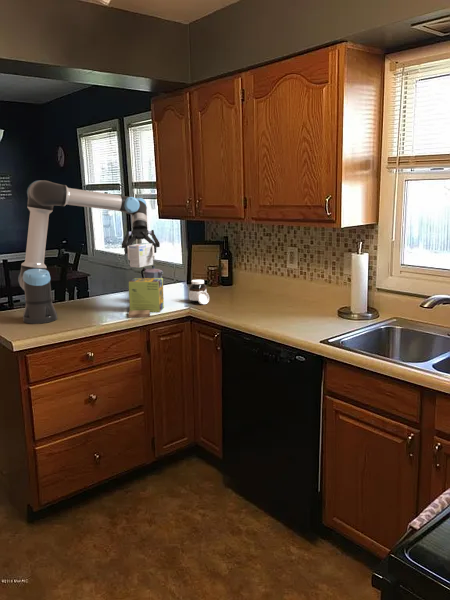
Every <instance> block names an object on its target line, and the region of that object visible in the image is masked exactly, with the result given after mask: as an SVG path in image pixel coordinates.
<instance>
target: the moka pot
mask: <svg viewBox="0 0 450 600" xmlns="http://www.w3.org/2000/svg"><path fill="white" fill-rule="evenodd" d="M155 267H156V266H155V265H151V268H145V267H142V269H141V270H140V275H141V278H163V274H164V272H163V270H161V269H159V268H155Z"/></svg>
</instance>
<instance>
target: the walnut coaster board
mask: <svg viewBox="0 0 450 600" xmlns="http://www.w3.org/2000/svg"><path fill="white" fill-rule="evenodd" d="M150 317H151V312H150V310H136V311H130V310H128V318H130V319H133V318H134V319H135V318H150Z"/></svg>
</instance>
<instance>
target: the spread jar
mask: <svg viewBox="0 0 450 600" xmlns="http://www.w3.org/2000/svg"><path fill="white" fill-rule="evenodd" d="M190 282H191V284H190V286H189V289H188V294H189V295H188V298H189V301H190V303H192V304H200V305H207V304H208V303H209V302H210V295H209V293H208V292H207V286H206V284H205V280H204V279H192V280H191V281H190Z"/></svg>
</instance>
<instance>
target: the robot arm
mask: <svg viewBox="0 0 450 600" xmlns="http://www.w3.org/2000/svg"><path fill="white" fill-rule="evenodd" d="M26 194H27V205H26V206H27V209H28V211H29V220H28V230H27V238H26V239H27V240H26V247H25V248H26V249H25V257H24V258H25V259H24V262H22V263H21V265H20V272H19V274H18V279H17V280H18V284H19V287H20V288H21V289H22V291H24V299H25V306H24V307H25V308H24V311H23V315H22V321H23V323H26V324H32V325H33V324H34V325H35V324H45V323H51V322H54V321H56V320H58V314H57V311H56V308H55V306H54V304H53V297H52V285H51V278H52V277H51V275H50V271H49V270H48V268H47V265H46V264H45V255H46V245H47V236H48V229H49V220H50V219H49V217H50V214H52V212H53V210H54V206H56V207H57V206H60V207H65V206H66V205H67V206H68V205H69V206H77V207H86V208H92V209H98V210H99V209H101V210H107V211H115V212H116V211H117V212H121V213H125V214H128V215H130V216H131V215H132V216H131V217H132V218H131V220H132V230H131V231H129V230H128V229H127V230H126V234H125V236H124V238H123V240H122V242H121V249H125V251H124V252H125V254H126V255H127V260H128V261H130V257H129V245H133V243H134V242H135V241H137V240H145V241H147V243H151V244H152V250H153V260H155V254H156V253H157V248H160V241H159V239H158V238H157V236H156V233H155V232H154V231H155V230H154V229H151V230H148V228H149V227H148V212H147V211H148V210H147V209H148V205H147V202H146V200H145V199H144V198H142V197H134V196H125V195H119V194H116V193H115V194H113V193H106V192H98V191H93V190H92V191H91V190H84V189H79V188H71V187H68V186H67V185H66V184H60V183H56V182H52V181H49V180H45V179H44V180H35V181H33V182H31V183H30V184H29V185H28V187H27V190H26ZM149 235H150V236H151V237H150V236H149ZM130 237H131V238H130ZM129 238H130V239H129Z"/></svg>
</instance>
